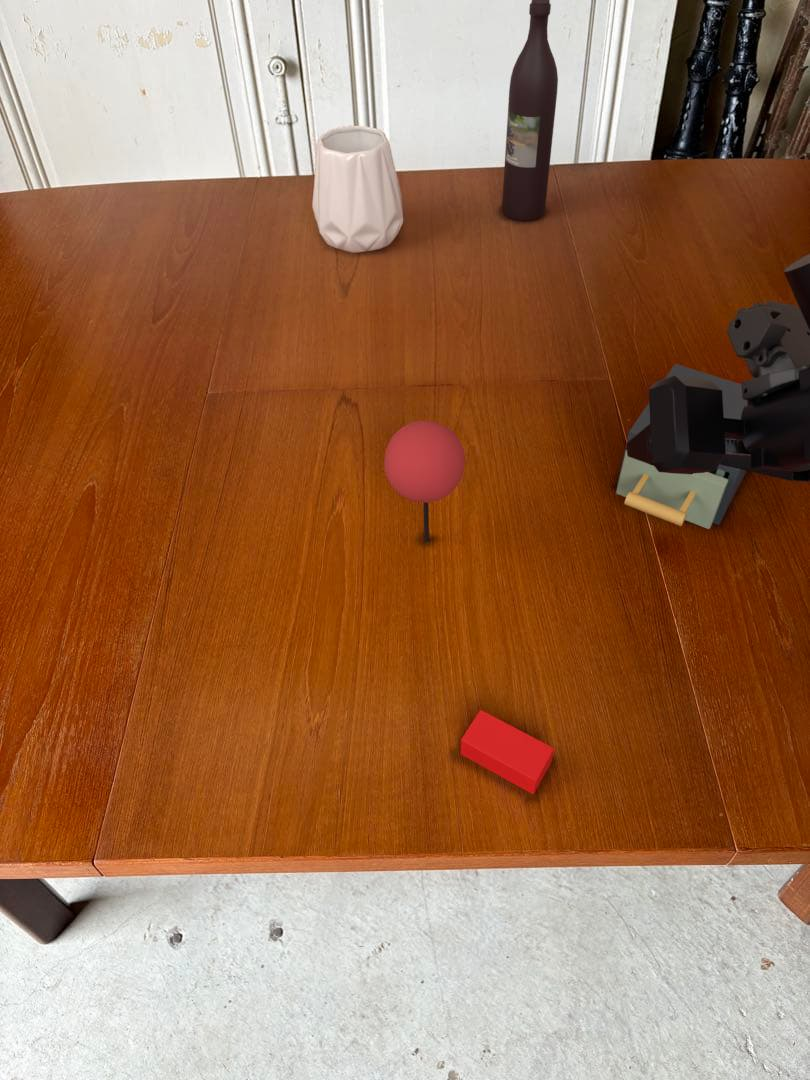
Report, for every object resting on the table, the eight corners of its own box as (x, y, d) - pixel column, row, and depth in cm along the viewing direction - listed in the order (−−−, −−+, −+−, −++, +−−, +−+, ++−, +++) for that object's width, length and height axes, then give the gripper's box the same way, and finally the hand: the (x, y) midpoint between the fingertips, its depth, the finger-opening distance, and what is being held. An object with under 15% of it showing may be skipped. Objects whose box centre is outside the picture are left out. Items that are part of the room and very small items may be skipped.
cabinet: (718, 525, 87) (739, 470, 81) (616, 486, 91) (629, 431, 85) (756, 451, 94) (778, 395, 88) (660, 418, 99) (675, 363, 92)
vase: (298, 245, 129) (285, 147, 118) (348, 208, 137) (340, 112, 125) (372, 267, 124) (365, 167, 112) (420, 227, 132) (418, 130, 120)
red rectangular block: (551, 762, 69) (554, 748, 67) (533, 795, 67) (536, 781, 65) (479, 724, 72) (480, 709, 70) (460, 754, 70) (460, 739, 68)
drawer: (693, 558, 83) (709, 516, 78) (598, 520, 86) (607, 477, 82) (745, 459, 92) (762, 416, 87) (657, 429, 96) (668, 386, 91)
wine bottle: (496, 205, 136) (507, -4, 114) (536, 199, 137) (555, -10, 115) (509, 224, 131) (524, 11, 109) (551, 218, 132) (574, 5, 110)
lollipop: (472, 525, 88) (477, 417, 77) (444, 575, 83) (446, 468, 72) (408, 505, 90) (404, 397, 79) (377, 553, 86) (368, 445, 74)
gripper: (933, 308, 56) (747, 367, 70) (744, 264, 48) (575, 341, 62) (944, 466, 56) (754, 495, 70) (755, 450, 47) (581, 486, 61)
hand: (672, 453), depth 66 cm, fingers open, 9 cm apart
